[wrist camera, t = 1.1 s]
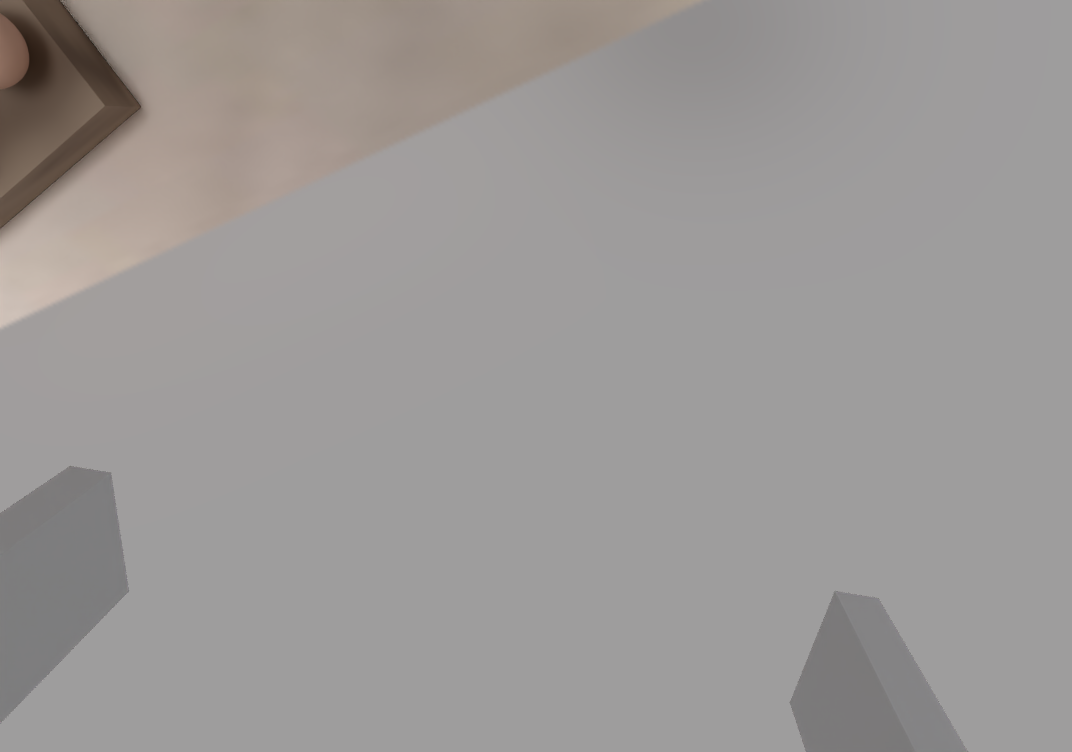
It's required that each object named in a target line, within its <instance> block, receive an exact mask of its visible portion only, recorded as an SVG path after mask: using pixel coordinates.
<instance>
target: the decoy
mask: <svg viewBox="0 0 1072 752" xmlns="http://www.w3.org/2000/svg"><path fill="white" fill-rule="evenodd" d="M28 66H29V51H28V47H27V44H26V42H25V40H24V38H23V36H22V34H21V33H20V32H19V30H18V29H17V28H16V26H15V25H14V24H13V23H12V22H11V21H10V20H8V19H7V18H6V17H5V16H4V15H2V14H1V13H0V89H5V88H8V87H11V86H13V85H15V84H16V83H18V82H19V81H20V80H21V79H22V78H23V77H24V75H25V74H26V72H27V70H28Z"/></svg>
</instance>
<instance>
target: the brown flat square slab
mask: <svg viewBox="0 0 1072 752" xmlns="http://www.w3.org/2000/svg"><path fill="white" fill-rule="evenodd" d="M0 13H1V14H2V15H4V16H5V17H6V18H7V19H8V20H10V21H11V22H12V23H13V24H14V25H15V26H16V28H17V29H18V30H19V32H20V33H21V34H22V36H23V38H24V40H25V42H26V44H27V47H28V51H29V66H28V70H27V72H26V74H25V75H24V77H23V78H22V79H21V80H20V81H19V82H18V83H16V84H15V85H13V86H11V87H8V88H5V89H0V228H1V227H2V226H4V225H5V224H6V223H7V222H8V221H9V220H11V219H12V218H13V217H14V216H15V215H16V214H17V213H19V212H20V211H21V210H22V209H23V208H24V207H26V206H27V205H28V204H29V203H30V202H31V201H33V200H34V199H35V198H36V197H37V196H38V195H40V194H41V193H42V192H43V191H44V190H45V189H46V188H48V187H49V186H50V185H51V184H52V183H53V182H55V181H56V180H57V179H58V178H59V177H60V176H62V175H63V174H64V173H65V172H66V171H67V170H68V169H70V168H71V167H72V166H73V165H74V164H75V163H77V162H78V161H79V160H80V159H81V158H82V157H84V156H85V155H86V154H87V153H88V152H89V151H90V150H92V149H93V148H94V147H95V146H96V145H97V144H99V143H100V142H101V141H102V140H103V139H104V138H106V137H107V136H108V135H109V134H110V133H111V132H112V131H114V130H115V129H116V128H117V127H118V126H119V125H121V124H122V123H123V122H124V121H125V120H126V119H128V118H129V117H130V116H131V115H132V114H133V113H135V112H136V111H137V110H138V109H139V108H140V107H141V106H140V105H139V104H138V102H137V101H136V100H135V99H134V97H133V96H132V95H131V93H130V92H129V91H128V89H127V88H126V87H125V85H124V84H123V83H122V82H121V80H120V79H119V78H118V76H117V75H116V74H115V72H114V71H113V70H112V69H111V67H110V66H109V65H108V63H107V62H106V61H105V59H104V58H103V57H102V55H101V54H100V53H99V52H98V50H97V49H96V48H95V46H94V45H93V44H92V42H91V41H90V40H89V39H88V37H87V36H86V35H85V33H84V32H83V31H82V29H81V28H80V27H79V25H78V24H77V23H76V22H75V20H74V19H73V18H72V16H71V15H70V14H69V12H68V11H67V10H66V8H65V7H64V6H63V5H62V3H61V2H60V1H59V0H0Z"/></svg>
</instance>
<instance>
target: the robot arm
mask: <svg viewBox="0 0 1072 752" xmlns="http://www.w3.org/2000/svg"><path fill="white" fill-rule="evenodd" d="M128 592H129V588H128V582H127V575H126V568H125V562H124V555H123V549H122V542H121V535H120V529H119V523H118V516H117V509H116V503H115V496H114V490H113V483H112V476H111V473H110V472H104V471H98V470H91V469H85V468H79V467H73V466H69V467H68V468H66V469H65V470H64V471H62V472H61V473H59V474H58V475H56V476H55V477H53V478H52V479H50V480H49V481H47V482H46V483H44V484H43V485H41V486H40V487H38V488H37V489H35V490H34V491H32V492H31V493H29V494H28V495H26V496H25V497H24V498H22V499H21V500H19V501H18V502H16V503H15V504H13V505H12V506H10V507H9V508H7V509H6V510H4V511H3V512H1V513H0V723H1V722H2V721H3V720H4V719H5V718H6V717H7V716H8V715H9V714H10V713H11V712H12V711H13V710H14V709H15V708H16V707H17V706H18V705H19V704H20V703H21V702H22V701H23V700H24V699H25V697H26V696H27V695H28V694H29V693H30V692H31V691H32V690H33V689H34V688H35V687H36V686H37V685H38V684H39V683H40V682H41V681H42V680H43V679H44V678H45V677H46V676H47V675H48V674H49V673H50V672H51V671H52V670H53V669H54V668H55V667H56V666H57V665H58V664H59V663H60V662H61V661H62V659H63V658H64V657H65V656H66V655H67V654H68V653H69V652H70V651H71V650H72V649H73V648H74V647H75V646H76V645H77V644H78V643H79V642H80V641H81V640H82V639H83V638H84V637H85V636H86V635H87V634H88V633H89V632H90V631H91V630H92V629H93V627H95V626H96V624H97V623H98V622H99V621H100V620H101V619H102V618H103V617H104V616H105V615H106V614H107V613H108V612H109V611H110V610H111V609H112V608H113V607H114V606H115V605H116V604H117V603H118V602H119V601H120V600H121V599H122V598H123V597H124V596H125V595H126V594H127V593H128ZM790 704H791V708H792V710H793V713H794V717H795V719H796V723H797V726H798V729H799V732H800V735H801V737H802V741H803V744H804V747H805V750H806V752H968V751H967V749H966V748H965V746H964V744H963V742H962V741H961V739H960V737H959V736H958V734H957V732H956V730H955V729H954V727H953V726H952V724H951V722H950V720H949V718H948V717H947V715H946V713H945V712H944V710H943V708H942V706H941V705H940V703H939V701H938V699H937V698H936V696H935V694H934V693H933V691H932V689H931V687H930V686H929V684H928V682H927V681H926V679H925V677H924V675H923V674H922V672H921V670H920V669H919V667H918V665H917V663H916V662H915V660H914V658H913V656H912V655H911V653H910V652H909V650H908V648H907V646H906V644H905V643H904V641H903V639H902V638H901V636H900V634H899V632H898V631H897V629H896V627H895V625H894V624H893V622H892V620H891V619H890V617H889V615H888V614H887V612H886V610H885V609H884V607H883V605H882V603H881V601H880V600H879V598H875V597H868V596H862V595H856V594H850V593H843V592H838V591H835V592H834V595H833V597H832V599H831V602H830V605H829V607H828V610H827V612H826V615H825V617H824V619H823V622H822V624H821V627H820V629H819V632H818V634H817V637H816V639H815V641H814V644H813V647H812V649H811V651H810V654H809V657H808V659H807V662H806V664H805V666H804V669H803V671H802V674H801V676H800V679H799V681H798V684H797V686H796V689H795V691H794V694H793V696H792V699H791V701H790Z"/></svg>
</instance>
